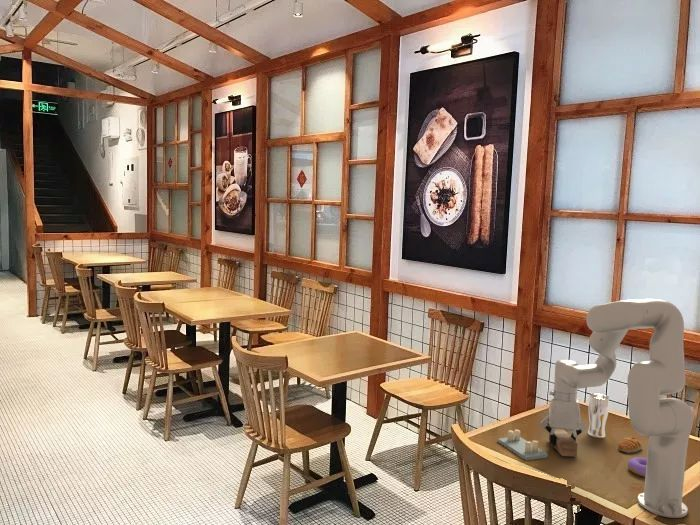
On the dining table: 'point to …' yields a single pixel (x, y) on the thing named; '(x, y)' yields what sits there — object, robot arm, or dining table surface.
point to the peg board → (522, 446)
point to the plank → (564, 443)
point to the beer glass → (598, 414)
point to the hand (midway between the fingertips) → (562, 445)
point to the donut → (638, 466)
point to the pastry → (629, 445)
